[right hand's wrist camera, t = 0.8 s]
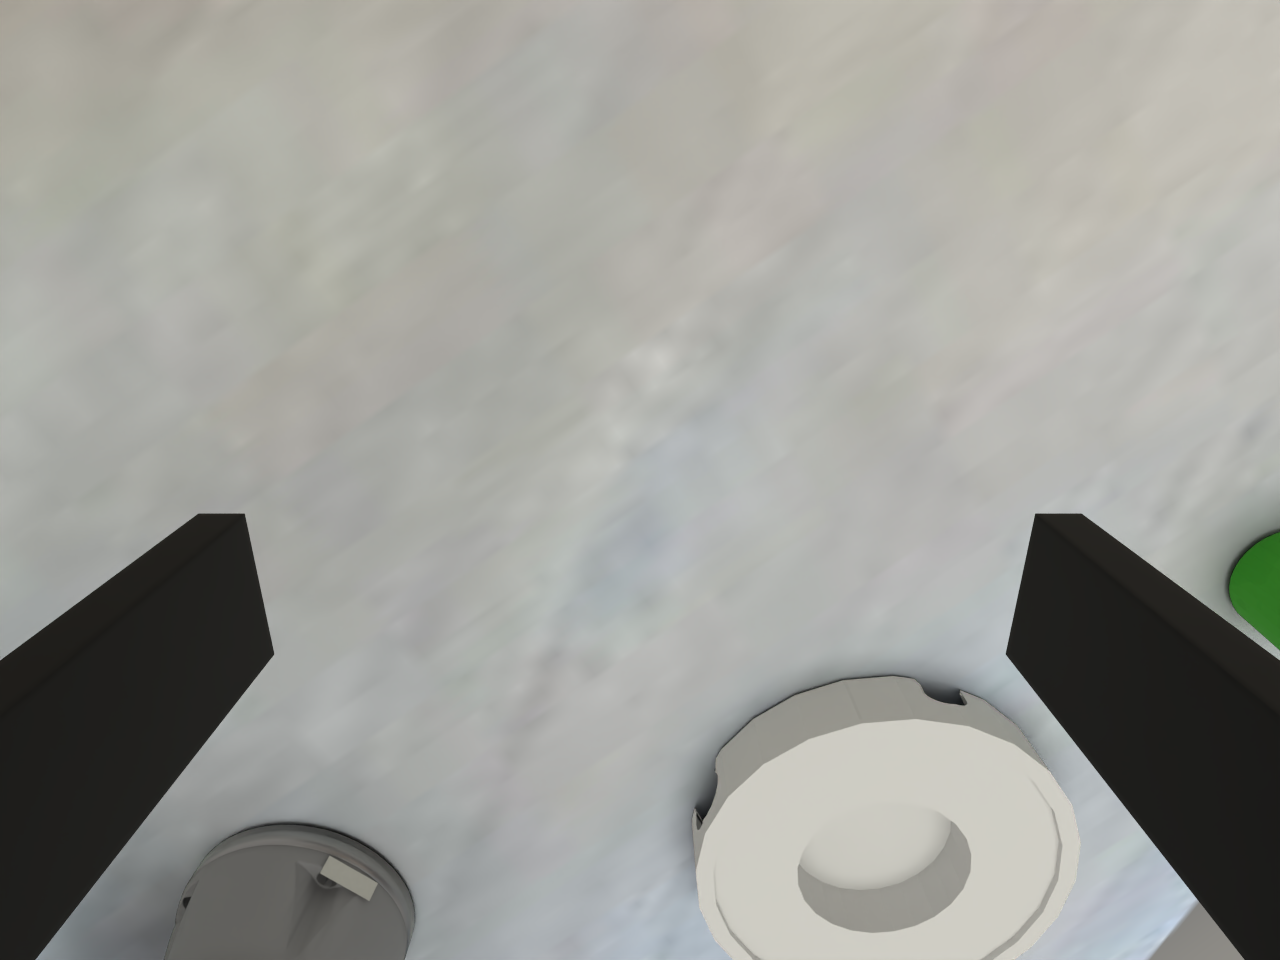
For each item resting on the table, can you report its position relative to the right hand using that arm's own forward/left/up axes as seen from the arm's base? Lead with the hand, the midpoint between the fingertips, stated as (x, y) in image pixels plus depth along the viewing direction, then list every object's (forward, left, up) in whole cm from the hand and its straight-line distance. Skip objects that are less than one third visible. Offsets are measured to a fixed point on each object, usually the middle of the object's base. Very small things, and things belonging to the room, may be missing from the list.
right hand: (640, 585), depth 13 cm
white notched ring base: (+34, +12, -27) cm, 45 cm away
